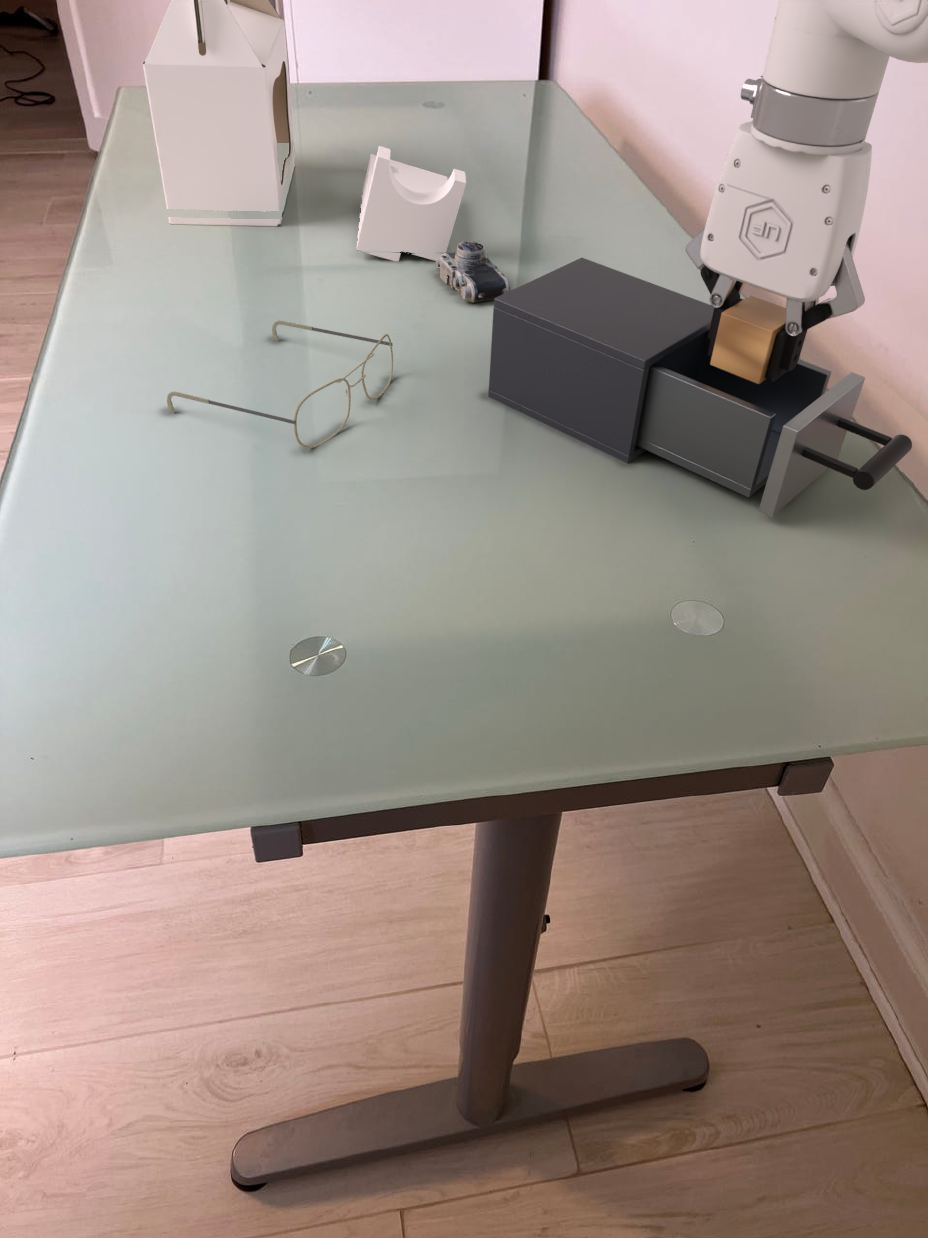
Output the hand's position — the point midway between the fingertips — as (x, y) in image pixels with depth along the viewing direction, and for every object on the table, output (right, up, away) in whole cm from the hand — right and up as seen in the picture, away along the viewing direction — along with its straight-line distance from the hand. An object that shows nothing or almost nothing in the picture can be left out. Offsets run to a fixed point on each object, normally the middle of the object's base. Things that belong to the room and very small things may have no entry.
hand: (749, 360), depth 78 cm
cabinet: (-10, -1, +13) cm, 16 cm away
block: (0, 0, 0) cm, 0 cm away
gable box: (-52, +34, +48) cm, 79 cm away
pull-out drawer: (+2, -8, +4) cm, 9 cm away
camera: (-22, +16, +30) cm, 41 cm away
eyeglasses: (-38, 0, +12) cm, 40 cm away
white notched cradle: (-29, +26, +41) cm, 57 cm away
